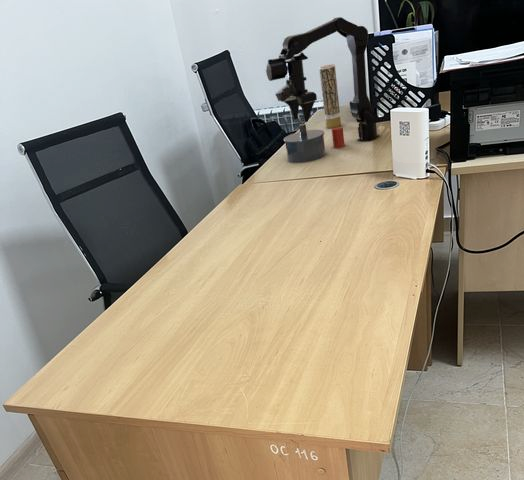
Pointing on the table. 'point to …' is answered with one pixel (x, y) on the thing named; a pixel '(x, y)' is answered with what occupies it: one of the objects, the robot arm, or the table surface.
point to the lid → (303, 135)
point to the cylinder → (338, 137)
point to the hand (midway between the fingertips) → (301, 120)
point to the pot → (306, 150)
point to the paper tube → (330, 95)
